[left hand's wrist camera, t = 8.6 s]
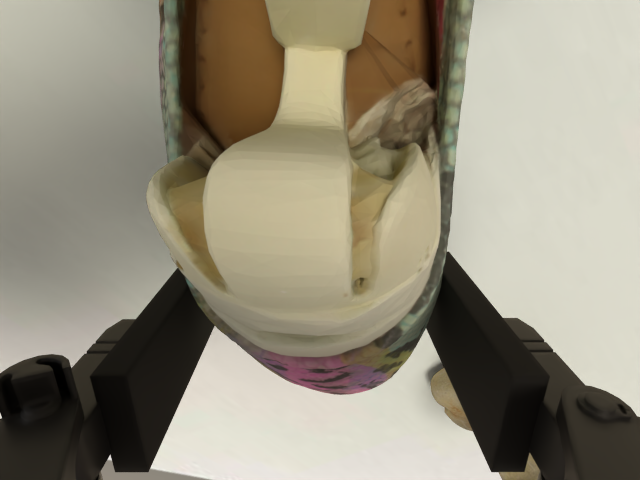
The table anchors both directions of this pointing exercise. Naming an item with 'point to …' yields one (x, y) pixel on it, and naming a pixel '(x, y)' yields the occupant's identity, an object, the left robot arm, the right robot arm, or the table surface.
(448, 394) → the sculpture
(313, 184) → the ballet flat
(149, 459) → the left robot arm
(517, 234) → the table surface
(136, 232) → the table surface
